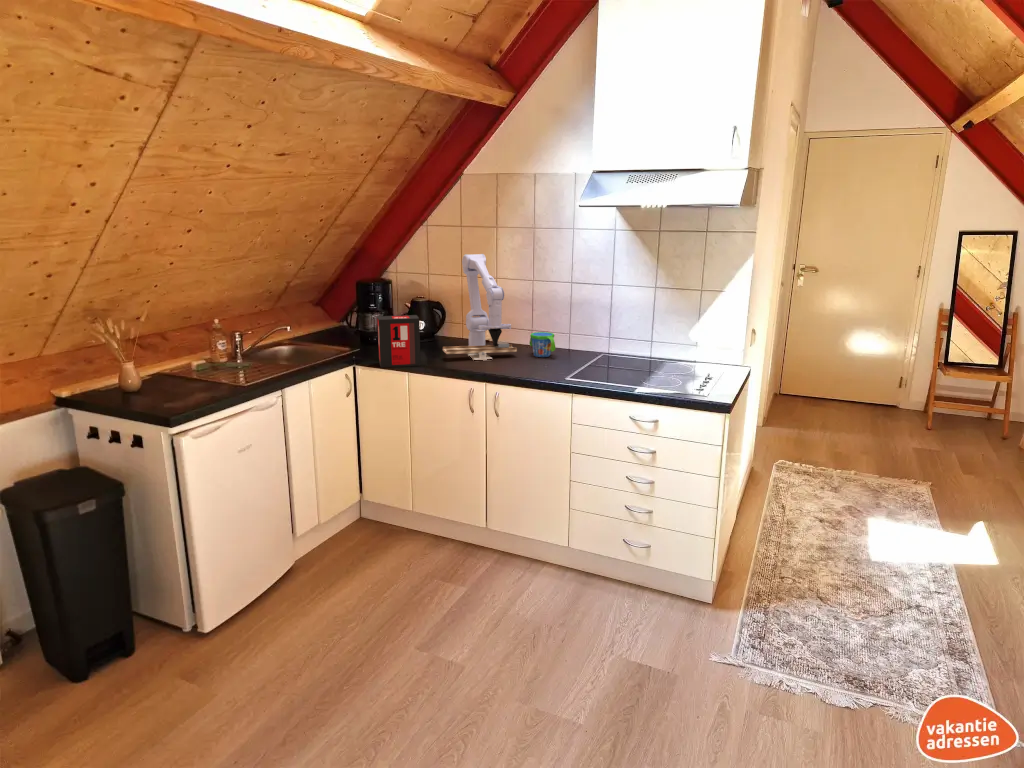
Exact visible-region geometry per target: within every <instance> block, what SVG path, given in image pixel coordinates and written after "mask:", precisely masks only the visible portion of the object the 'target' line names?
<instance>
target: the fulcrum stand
mask: <svg viewBox="0 0 1024 768" xmlns="http://www.w3.org/2000/svg"><path fill="white" fill-rule="evenodd" d="M469 356H470V357H471V358H472V359H471V358H470V357H469ZM467 357H469V358H470V359H471V360H473V361H474V360H483V361H488V360H487V359H492V360H493V357H491V356H490V355H489V354H487V353H486V352H485V353H484V352H482V353H467Z"/></svg>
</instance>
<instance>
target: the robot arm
mask: <svg viewBox="0 0 1024 768" xmlns="http://www.w3.org/2000/svg"><path fill="white" fill-rule="evenodd" d="M461 265H462V270H463V271H462V272H463V274H465V275H466V282H467V283H466V284H467V290H468V297H469V305H470V310H469V311H468V312H467V313H466V315H465V325H466V329H467V330H468V331H469V332H468V346H484V345H486V331H488V333H489V335H490V337H491V338H490V339H491V341H492V345H494V346H497V342H499V339H500V336H501V335H502V333H503V330H512V324H511V323H502V321H503V320H502V313H503V312H502V309H503V308H502V306H503V305H502V304H503V303H502V302H503V300H504V299H505V290H504V288H503V287H501V286H500V285H498V284H497V281H496V280H495V278H494V276H492V275H490V273H489V271H488V268H487V266H486V265H487V258H486V255H485V254H484V253H479V254H476V253H475V254H474V253H473V254H466V253H465V254H464V255H462V260H461ZM478 275H479V276H480V278H481V279H482V280H481V284H482V286H483V288H484V290H485V292H486V294H485V296H486V301H487V305H488V313H487V311H485V310H483V309H482V302H481V300H482V299H481V294H480V286H479V285H480V284H479V279H478Z"/></svg>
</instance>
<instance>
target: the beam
mask: <svg viewBox="0 0 1024 768" xmlns="http://www.w3.org/2000/svg"><path fill="white" fill-rule="evenodd" d="M442 351H443V352H444V354H446V355H456V354H457V355H459V354H474V353H482V352H484V353H485V352H486V354H487V353H490V354H491V353H517V352H518V348H517V347H513V344H509V348H495V346H494V345H493V344H492V345H491V344H490V345H489V344H487V345H486V344H485V345H484V346H469V345H459V346H457V345H456V346H454V345H453V346H452V345H451V346H442Z"/></svg>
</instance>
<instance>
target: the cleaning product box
mask: <svg viewBox="0 0 1024 768" xmlns="http://www.w3.org/2000/svg"><path fill="white" fill-rule="evenodd" d="M376 319H377V337H378V338H377V339H378V342H377V343H378V344H377V345H378V363H379V366H380V368H394V367H395V368H396V367H397V368H398V367H412V366H413V367H414V366H421V336H420V333H421V332H420V327H421V326H420V317H419V316H418V315H417V314H411V315H409V314H407V315H381V316H380V315H378V316H377V317H376Z"/></svg>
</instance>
